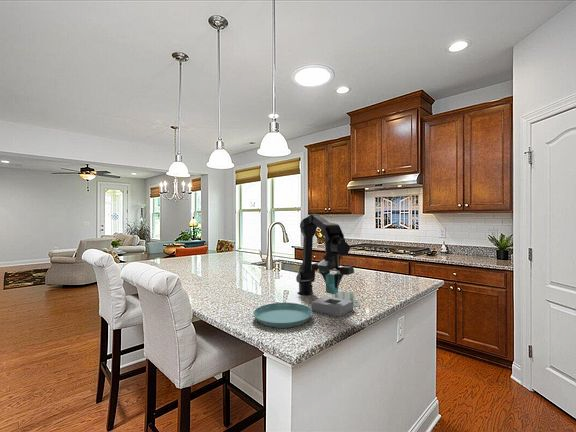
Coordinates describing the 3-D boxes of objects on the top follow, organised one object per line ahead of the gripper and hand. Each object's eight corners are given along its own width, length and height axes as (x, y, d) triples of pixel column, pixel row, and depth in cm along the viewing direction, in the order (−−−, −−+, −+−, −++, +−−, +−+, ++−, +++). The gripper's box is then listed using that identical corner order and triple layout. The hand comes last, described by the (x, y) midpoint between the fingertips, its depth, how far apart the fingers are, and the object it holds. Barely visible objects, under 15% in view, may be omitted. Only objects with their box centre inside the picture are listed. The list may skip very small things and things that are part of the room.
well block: (311, 310, 132) (311, 301, 132) (326, 304, 141) (325, 295, 141) (339, 317, 123) (339, 307, 123) (353, 309, 132) (353, 300, 132)
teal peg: (325, 292, 132) (325, 274, 132) (330, 290, 135) (330, 273, 135) (333, 294, 129) (333, 275, 129) (338, 292, 132) (338, 274, 132)
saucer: (241, 321, 121) (240, 313, 121) (280, 306, 140) (280, 299, 140) (286, 336, 106) (286, 326, 106) (324, 317, 124) (324, 309, 124)
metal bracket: (328, 287, 151) (358, 288, 149) (328, 297, 153) (358, 298, 150) (326, 303, 138) (360, 304, 135) (326, 314, 140) (359, 315, 137)
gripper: (303, 253, 132) (304, 288, 132) (341, 256, 120) (342, 295, 120) (317, 250, 140) (318, 283, 140) (354, 253, 129) (354, 289, 129)
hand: (332, 287), depth 132 cm, fingers closed on teal peg, 4 cm apart
